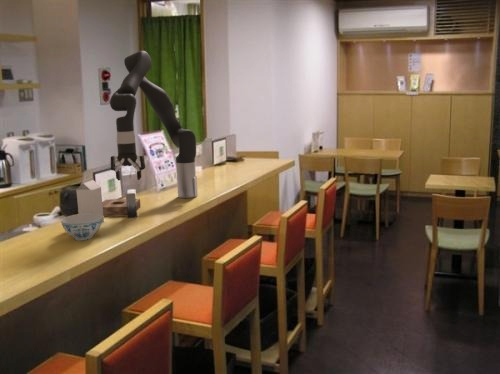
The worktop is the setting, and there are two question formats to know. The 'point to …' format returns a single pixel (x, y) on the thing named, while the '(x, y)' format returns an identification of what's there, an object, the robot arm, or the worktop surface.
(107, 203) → the block
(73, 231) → the chinaware
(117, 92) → the robot arm
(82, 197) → the milk carton
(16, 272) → the worktop surface
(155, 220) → the worktop surface
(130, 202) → the grey upright bar
